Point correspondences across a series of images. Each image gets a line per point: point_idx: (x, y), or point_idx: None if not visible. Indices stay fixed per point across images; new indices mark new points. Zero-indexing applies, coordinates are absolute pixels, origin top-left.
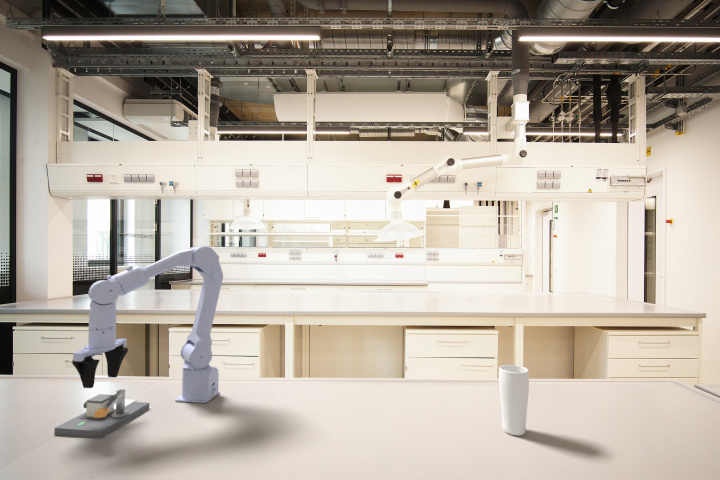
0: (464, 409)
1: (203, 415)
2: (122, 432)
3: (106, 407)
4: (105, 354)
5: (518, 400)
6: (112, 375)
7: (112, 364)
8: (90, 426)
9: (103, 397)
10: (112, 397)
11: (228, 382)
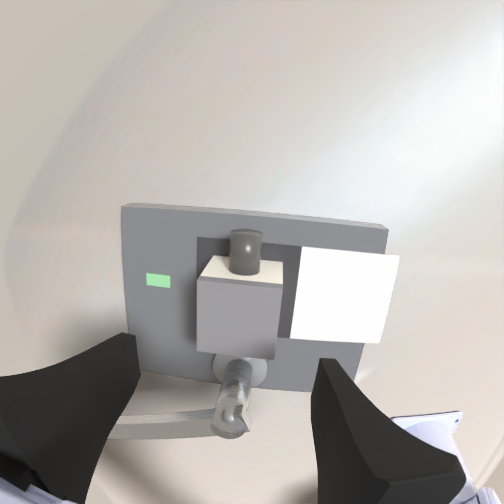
0: None
1: (289, 491)
2: (178, 390)
3: None
4: (360, 462)
5: None
6: (315, 389)
7: (329, 439)
8: (149, 321)
9: (239, 334)
10: (163, 423)
11: (488, 447)
